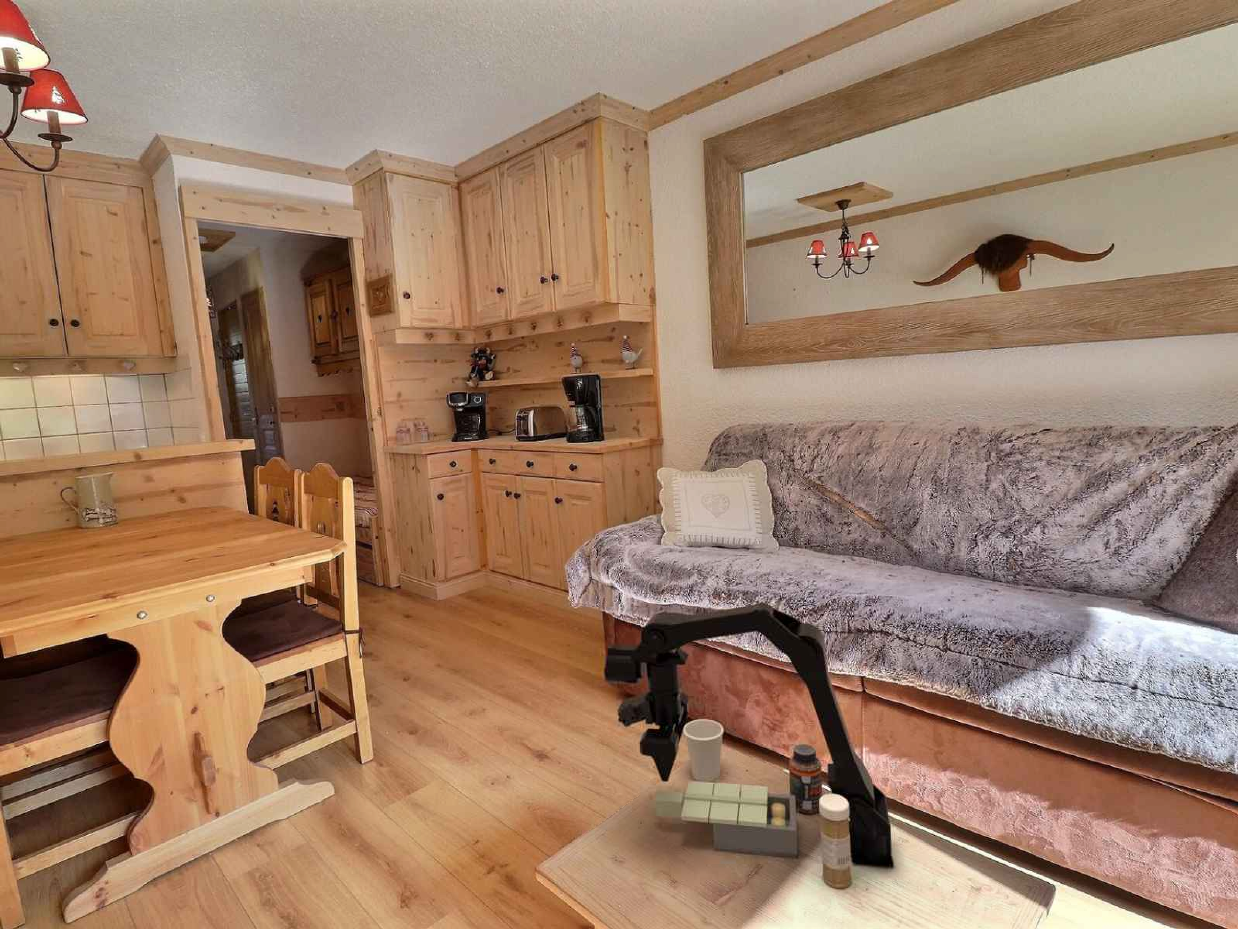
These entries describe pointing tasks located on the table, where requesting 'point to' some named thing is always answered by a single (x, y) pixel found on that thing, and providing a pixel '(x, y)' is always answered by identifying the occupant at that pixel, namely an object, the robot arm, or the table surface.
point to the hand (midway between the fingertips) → (669, 766)
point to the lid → (715, 804)
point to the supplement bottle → (805, 778)
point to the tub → (763, 831)
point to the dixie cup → (704, 748)
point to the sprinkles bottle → (835, 840)
